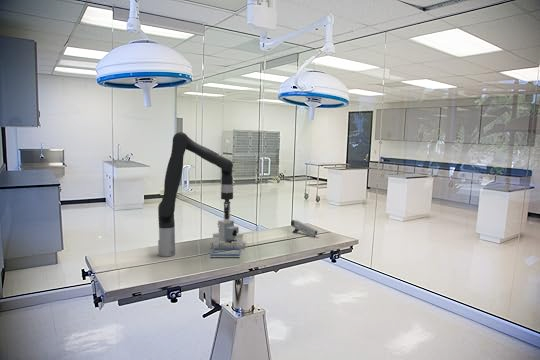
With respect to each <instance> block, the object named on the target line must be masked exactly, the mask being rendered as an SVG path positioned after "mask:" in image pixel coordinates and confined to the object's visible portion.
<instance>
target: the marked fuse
mask: <svg viewBox="0 0 540 360" xmlns="http://www.w3.org/2000/svg"><path fill="white" fill-rule="evenodd" d="M226 211H228V210H226ZM223 220H224V223H230V220H231V208H230V209H229V219H225V213H224V212H223Z"/></svg>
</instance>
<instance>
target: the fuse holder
mask: <svg viewBox="0 0 540 360" xmlns="http://www.w3.org/2000/svg"><path fill="white" fill-rule="evenodd" d="M219 244H220V247H219V248H237V240H236V241H234V240H232V241H231V244H230V245H228V244H227V245H226V242H225V241H220V240H219ZM245 249H246V241H244V240H243V248H241V250H245ZM209 250H213V240H212V241H210V248H209Z"/></svg>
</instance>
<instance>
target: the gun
mask: <svg viewBox="0 0 540 360" xmlns="http://www.w3.org/2000/svg"><path fill="white" fill-rule="evenodd" d="M290 226H291V227H293V228H294V230H293V231H292V233H293V234H297V233H298V232H301V233H303V234H305V235H307V236H309V237H311V238H313V237H314V238H315V237H316V236H317V233H319V232H318V230H317V229H315V228H313V227H311V226H310V225H308V224H305V223H303V222H301V221H299V220H295V219H292V220H291V222H290Z"/></svg>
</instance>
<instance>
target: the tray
mask: <svg viewBox="0 0 540 360" xmlns="http://www.w3.org/2000/svg"><path fill="white" fill-rule="evenodd" d="M241 250H242V249H241V248H213V249H211V252H210V259H240V256H241ZM215 251H238V252H237V253H214V252H215Z"/></svg>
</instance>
